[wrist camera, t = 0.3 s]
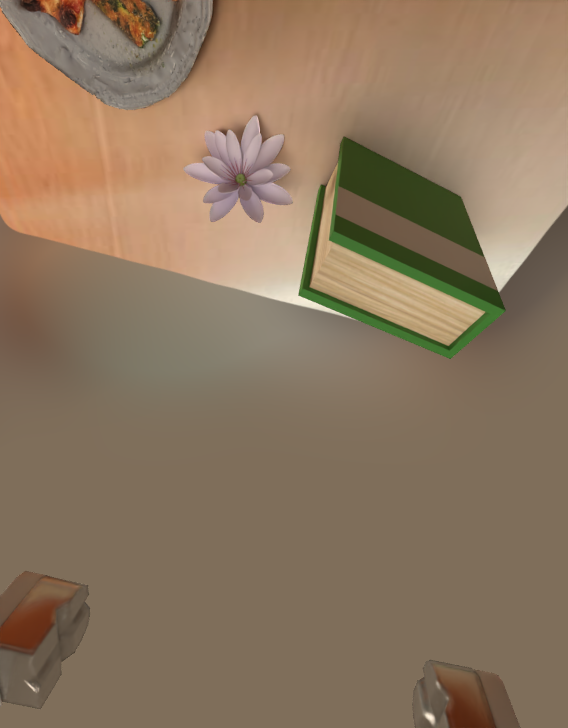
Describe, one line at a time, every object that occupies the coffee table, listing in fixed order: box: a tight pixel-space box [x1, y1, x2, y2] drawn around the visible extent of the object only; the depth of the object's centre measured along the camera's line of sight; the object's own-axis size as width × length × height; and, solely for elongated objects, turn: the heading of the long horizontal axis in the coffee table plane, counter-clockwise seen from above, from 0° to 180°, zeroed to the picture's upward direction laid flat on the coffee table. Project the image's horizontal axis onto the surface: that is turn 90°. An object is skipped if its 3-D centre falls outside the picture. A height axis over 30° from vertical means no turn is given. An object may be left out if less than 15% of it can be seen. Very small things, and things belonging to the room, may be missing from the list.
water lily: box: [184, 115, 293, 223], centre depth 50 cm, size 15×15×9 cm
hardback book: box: [299, 137, 505, 359], centre depth 44 cm, size 18×7×24 cm, turn 68°
